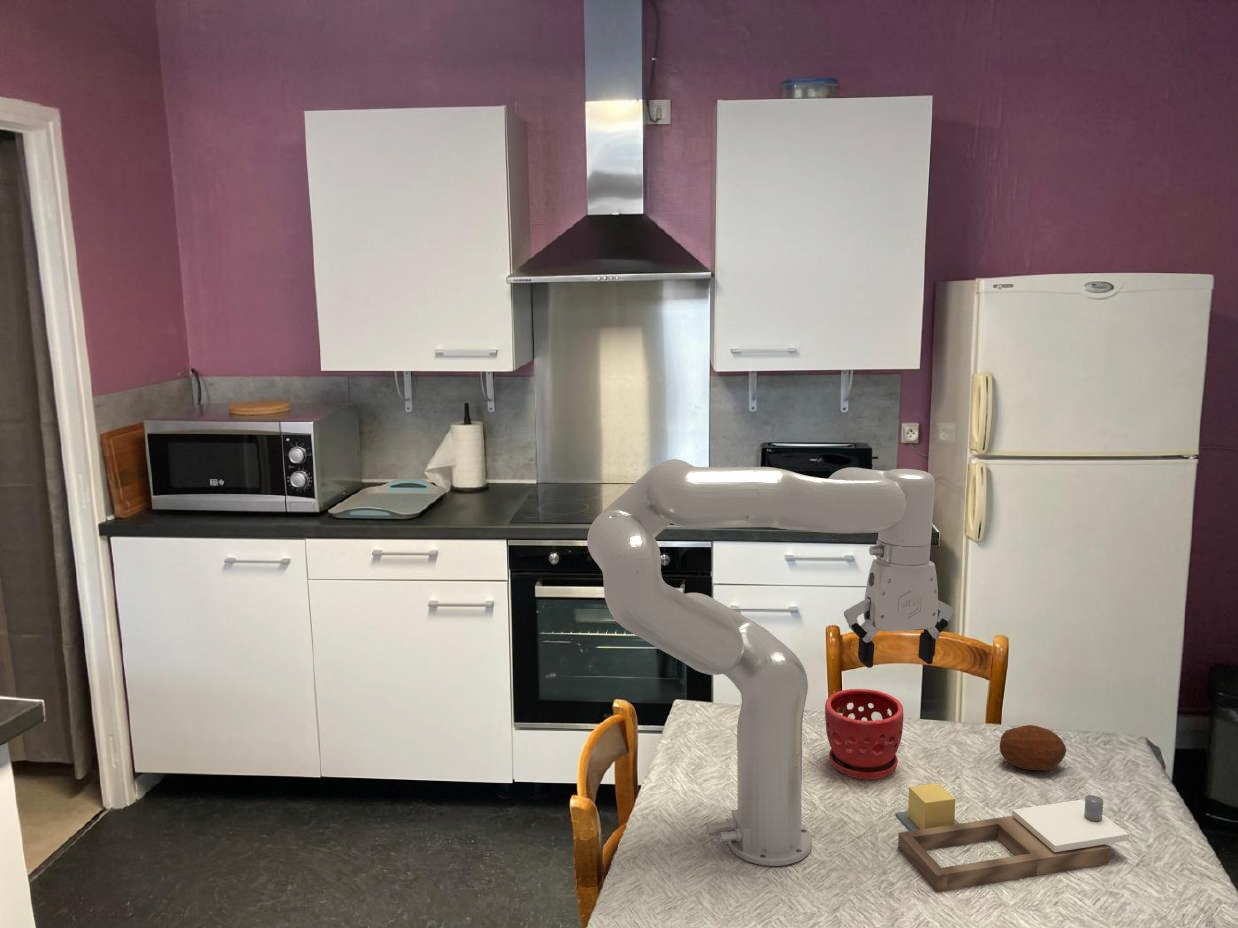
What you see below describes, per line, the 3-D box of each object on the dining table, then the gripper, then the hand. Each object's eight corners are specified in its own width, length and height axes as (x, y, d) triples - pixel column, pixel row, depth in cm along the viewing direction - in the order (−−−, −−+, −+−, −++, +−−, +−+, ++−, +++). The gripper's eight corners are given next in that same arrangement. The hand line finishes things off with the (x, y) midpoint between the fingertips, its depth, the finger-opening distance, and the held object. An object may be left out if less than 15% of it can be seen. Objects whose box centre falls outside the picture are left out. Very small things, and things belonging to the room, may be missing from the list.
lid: (1054, 852, 138) (1056, 826, 137) (1012, 815, 147) (1013, 791, 146) (1128, 840, 140) (1130, 814, 139) (1082, 805, 150) (1083, 781, 149)
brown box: (936, 891, 134) (937, 875, 133) (898, 847, 144) (898, 832, 144) (1108, 863, 139) (1109, 847, 139) (1058, 823, 150) (1059, 808, 149)
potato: (991, 754, 172) (993, 715, 171) (1054, 755, 171) (1056, 715, 170) (1006, 778, 164) (1008, 736, 163) (1072, 779, 163) (1075, 737, 162)
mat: (920, 842, 146) (920, 839, 146) (895, 814, 153) (895, 812, 153) (969, 835, 147) (969, 832, 147) (941, 808, 155) (941, 805, 155)
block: (924, 833, 147) (925, 802, 147) (908, 816, 152) (908, 786, 151) (954, 828, 148) (955, 798, 148) (937, 812, 153) (938, 782, 152)
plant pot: (812, 754, 174) (813, 691, 172) (880, 746, 176) (882, 684, 174) (842, 790, 161) (844, 723, 159) (916, 781, 164) (918, 714, 162)
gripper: (859, 561, 138) (852, 675, 141) (970, 557, 142) (961, 668, 145) (838, 548, 146) (832, 657, 148) (943, 544, 149) (935, 651, 152)
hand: (895, 662), depth 147 cm, fingers open, 9 cm apart
